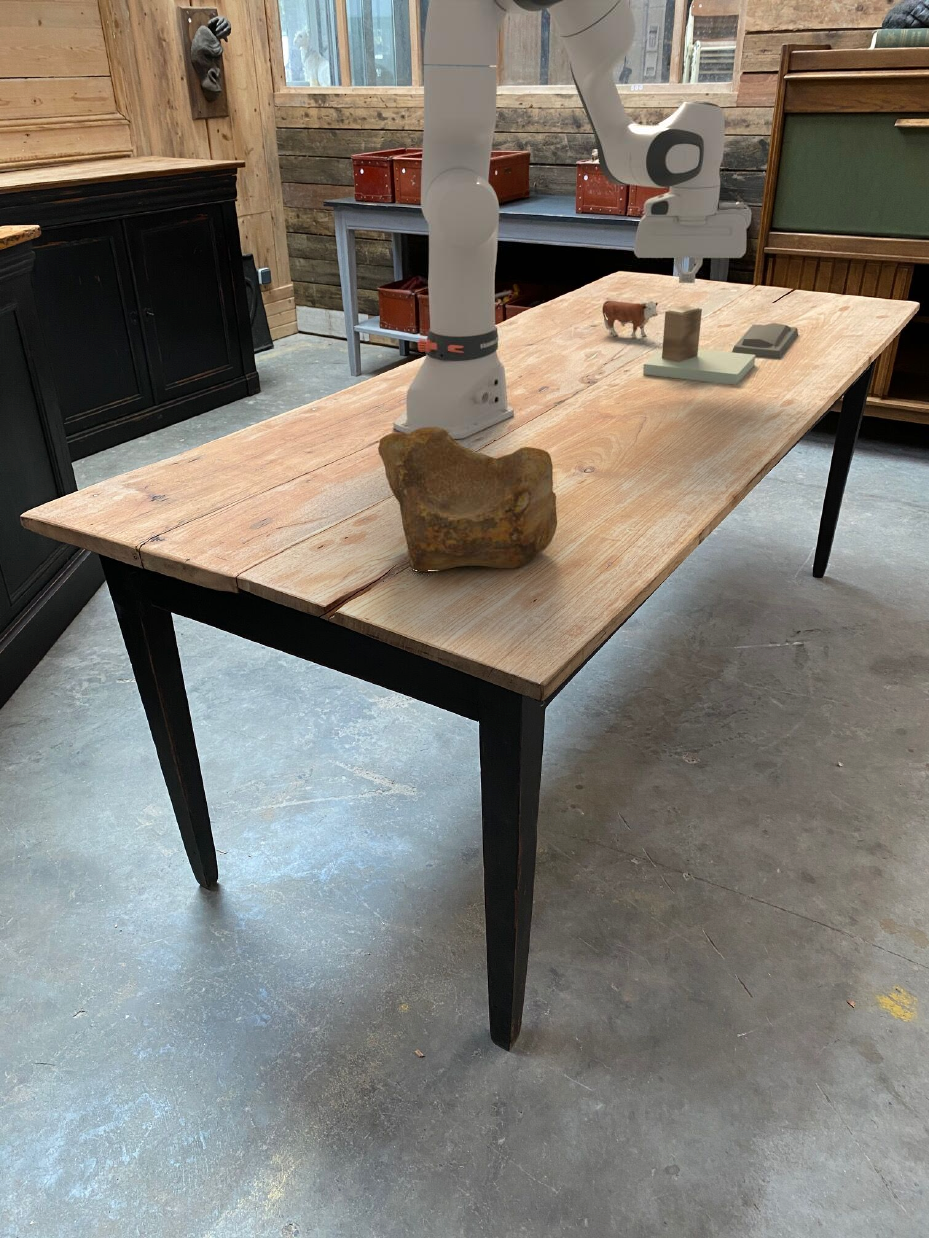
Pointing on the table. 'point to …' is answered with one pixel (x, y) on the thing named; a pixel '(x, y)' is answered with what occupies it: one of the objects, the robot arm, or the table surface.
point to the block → (681, 333)
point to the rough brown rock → (469, 501)
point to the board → (703, 367)
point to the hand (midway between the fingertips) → (686, 282)
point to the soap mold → (766, 340)
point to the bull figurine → (629, 314)
